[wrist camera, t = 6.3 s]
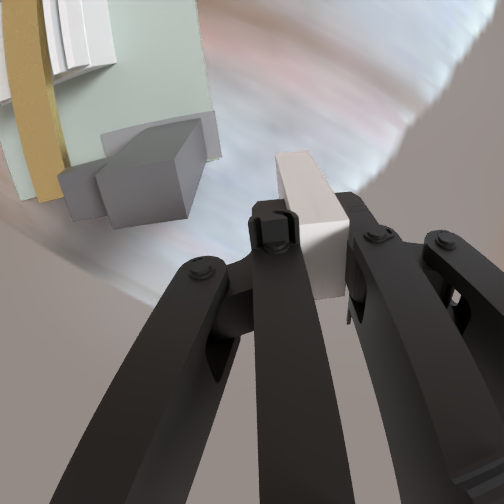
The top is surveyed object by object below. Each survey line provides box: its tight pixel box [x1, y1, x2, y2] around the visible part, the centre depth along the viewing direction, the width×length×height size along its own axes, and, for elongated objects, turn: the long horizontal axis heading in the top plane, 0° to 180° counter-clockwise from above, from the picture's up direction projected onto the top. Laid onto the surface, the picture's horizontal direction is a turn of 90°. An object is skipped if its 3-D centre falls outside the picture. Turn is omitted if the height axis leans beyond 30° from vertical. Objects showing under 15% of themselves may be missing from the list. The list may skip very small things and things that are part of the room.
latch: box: [57, 118, 208, 229], centre depth 18 cm, size 3×8×10 cm, turn 97°
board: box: [0, 0, 222, 201], centre depth 15 cm, size 22×20×8 cm
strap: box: [2, 0, 71, 203], centre depth 14 cm, size 19×4×1 cm, turn 7°
